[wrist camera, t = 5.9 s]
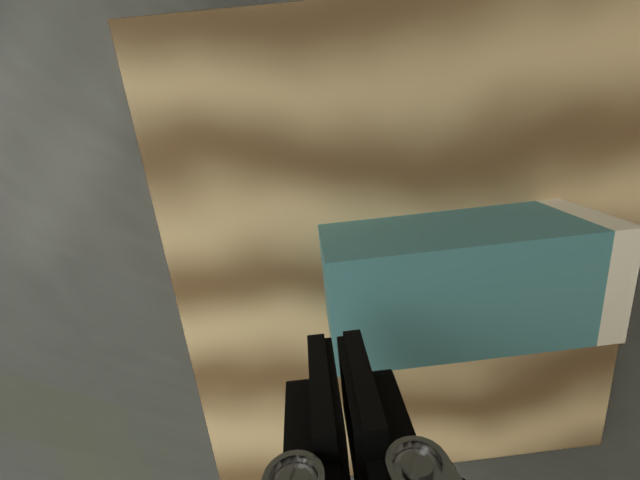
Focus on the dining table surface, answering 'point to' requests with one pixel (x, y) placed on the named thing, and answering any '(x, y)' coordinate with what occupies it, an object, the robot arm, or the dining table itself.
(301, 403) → the robot arm
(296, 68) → the oak board
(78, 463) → the dining table surface
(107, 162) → the dining table surface
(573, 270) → the teal block
